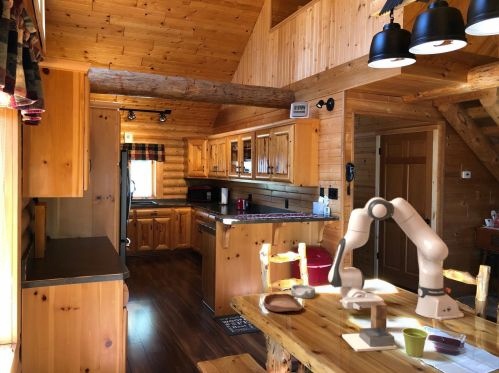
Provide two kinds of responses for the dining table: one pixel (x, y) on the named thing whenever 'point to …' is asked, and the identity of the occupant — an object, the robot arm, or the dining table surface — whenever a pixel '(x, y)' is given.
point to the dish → (303, 291)
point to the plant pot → (414, 341)
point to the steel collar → (376, 336)
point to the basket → (281, 303)
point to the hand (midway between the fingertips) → (369, 307)
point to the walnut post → (378, 314)
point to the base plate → (363, 343)
